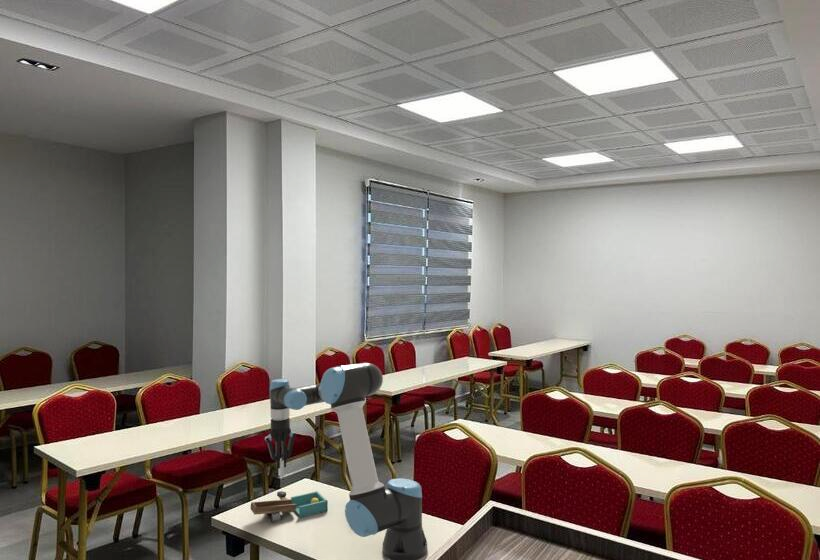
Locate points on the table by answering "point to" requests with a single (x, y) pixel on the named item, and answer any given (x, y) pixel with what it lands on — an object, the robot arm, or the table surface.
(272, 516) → the stand
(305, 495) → the tray
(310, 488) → the table surface
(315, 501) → the ball
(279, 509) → the lever
